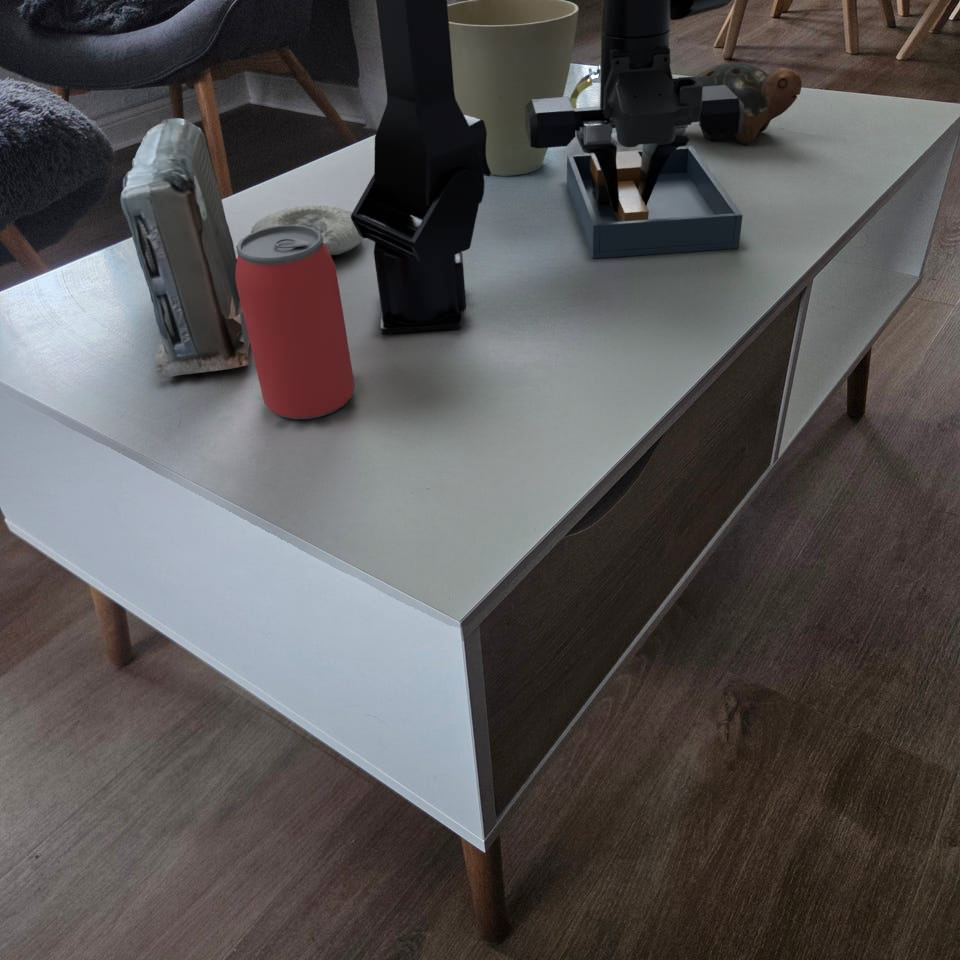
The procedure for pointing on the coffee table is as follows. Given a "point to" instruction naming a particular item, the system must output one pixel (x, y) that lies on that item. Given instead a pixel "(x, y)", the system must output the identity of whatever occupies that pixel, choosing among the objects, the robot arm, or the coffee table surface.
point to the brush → (622, 186)
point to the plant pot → (510, 69)
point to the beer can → (294, 321)
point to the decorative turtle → (755, 94)
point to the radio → (185, 251)
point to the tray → (659, 211)
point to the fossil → (318, 225)
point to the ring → (585, 83)
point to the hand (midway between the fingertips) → (628, 209)
